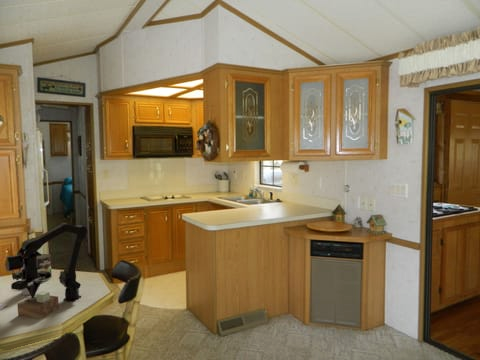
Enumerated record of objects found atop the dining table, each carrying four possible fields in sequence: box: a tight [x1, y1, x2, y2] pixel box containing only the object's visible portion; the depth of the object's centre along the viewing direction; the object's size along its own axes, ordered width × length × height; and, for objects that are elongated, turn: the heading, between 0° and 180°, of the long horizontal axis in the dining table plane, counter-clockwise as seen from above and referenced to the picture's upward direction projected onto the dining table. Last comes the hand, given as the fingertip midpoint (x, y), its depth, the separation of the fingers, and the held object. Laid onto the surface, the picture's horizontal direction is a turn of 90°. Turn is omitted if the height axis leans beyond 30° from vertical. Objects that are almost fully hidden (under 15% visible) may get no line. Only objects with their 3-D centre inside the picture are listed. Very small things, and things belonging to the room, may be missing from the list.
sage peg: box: [35, 290, 51, 303], centre depth 183 cm, size 4×4×6 cm
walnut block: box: [17, 295, 60, 320], centre depth 185 cm, size 12×13×6 cm
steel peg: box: [25, 294, 37, 302], centre depth 185 cm, size 4×4×6 cm
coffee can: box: [37, 253, 53, 282], centre depth 230 cm, size 10×10×14 cm
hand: (32, 296), depth 185 cm, fingers closed, pressing on steel peg
